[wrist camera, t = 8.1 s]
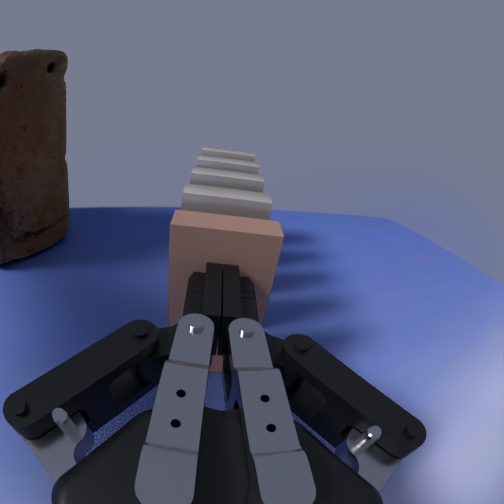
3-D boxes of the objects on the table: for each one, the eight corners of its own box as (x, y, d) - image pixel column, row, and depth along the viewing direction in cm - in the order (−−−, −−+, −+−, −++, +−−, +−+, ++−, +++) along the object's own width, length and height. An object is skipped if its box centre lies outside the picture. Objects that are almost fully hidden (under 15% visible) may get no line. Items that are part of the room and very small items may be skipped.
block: (49, 218, 30) (50, 54, 20) (79, 238, 28) (82, 44, 18) (-22, 251, 22) (-38, 66, 12) (-5, 281, 19) (-27, 52, 9)
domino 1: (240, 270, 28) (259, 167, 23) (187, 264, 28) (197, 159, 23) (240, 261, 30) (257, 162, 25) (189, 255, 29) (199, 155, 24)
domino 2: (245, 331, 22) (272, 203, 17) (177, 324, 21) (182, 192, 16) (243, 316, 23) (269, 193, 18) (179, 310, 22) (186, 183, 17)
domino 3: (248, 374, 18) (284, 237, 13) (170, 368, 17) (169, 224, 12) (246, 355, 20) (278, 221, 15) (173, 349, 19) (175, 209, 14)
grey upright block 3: (242, 297, 25) (264, 181, 20) (182, 291, 24) (191, 172, 19) (241, 285, 26) (262, 175, 21) (185, 279, 26) (193, 166, 21)
